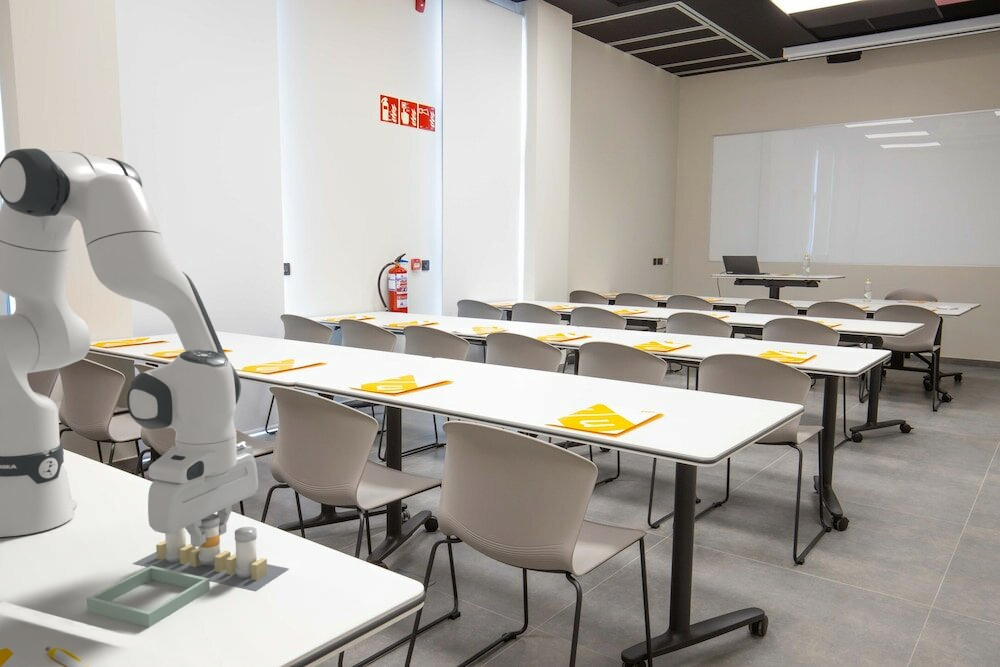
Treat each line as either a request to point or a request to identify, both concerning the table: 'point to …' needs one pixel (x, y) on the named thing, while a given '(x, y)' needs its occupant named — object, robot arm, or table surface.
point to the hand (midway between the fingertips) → (209, 539)
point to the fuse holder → (214, 567)
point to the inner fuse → (175, 545)
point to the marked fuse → (210, 539)
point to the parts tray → (133, 615)
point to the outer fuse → (245, 550)
